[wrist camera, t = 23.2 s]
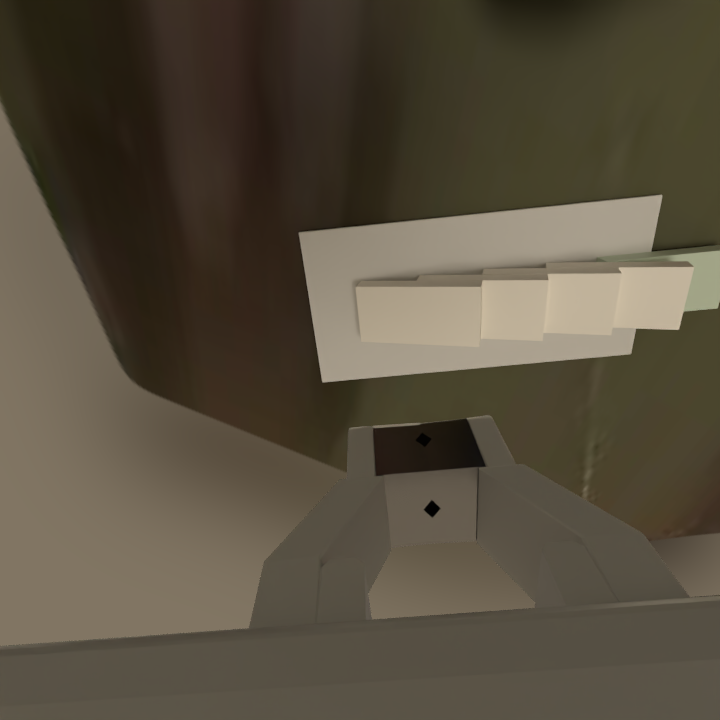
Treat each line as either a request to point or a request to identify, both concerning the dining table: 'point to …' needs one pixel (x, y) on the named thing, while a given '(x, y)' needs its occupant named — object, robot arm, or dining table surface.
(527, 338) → the domino
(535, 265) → the mat
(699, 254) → the domino
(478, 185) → the dining table surface
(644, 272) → the domino
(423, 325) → the domino
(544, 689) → the robot arm
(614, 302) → the domino
